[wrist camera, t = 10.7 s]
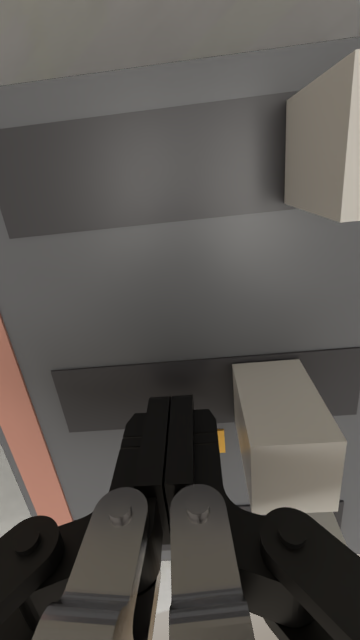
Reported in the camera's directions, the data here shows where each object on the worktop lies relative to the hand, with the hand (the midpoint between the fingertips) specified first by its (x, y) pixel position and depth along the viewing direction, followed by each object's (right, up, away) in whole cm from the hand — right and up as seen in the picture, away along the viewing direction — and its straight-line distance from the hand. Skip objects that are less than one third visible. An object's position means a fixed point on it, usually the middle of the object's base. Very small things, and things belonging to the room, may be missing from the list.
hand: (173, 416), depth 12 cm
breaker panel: (+1, +2, +4) cm, 4 cm away
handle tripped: (+3, +1, +1) cm, 4 cm away
